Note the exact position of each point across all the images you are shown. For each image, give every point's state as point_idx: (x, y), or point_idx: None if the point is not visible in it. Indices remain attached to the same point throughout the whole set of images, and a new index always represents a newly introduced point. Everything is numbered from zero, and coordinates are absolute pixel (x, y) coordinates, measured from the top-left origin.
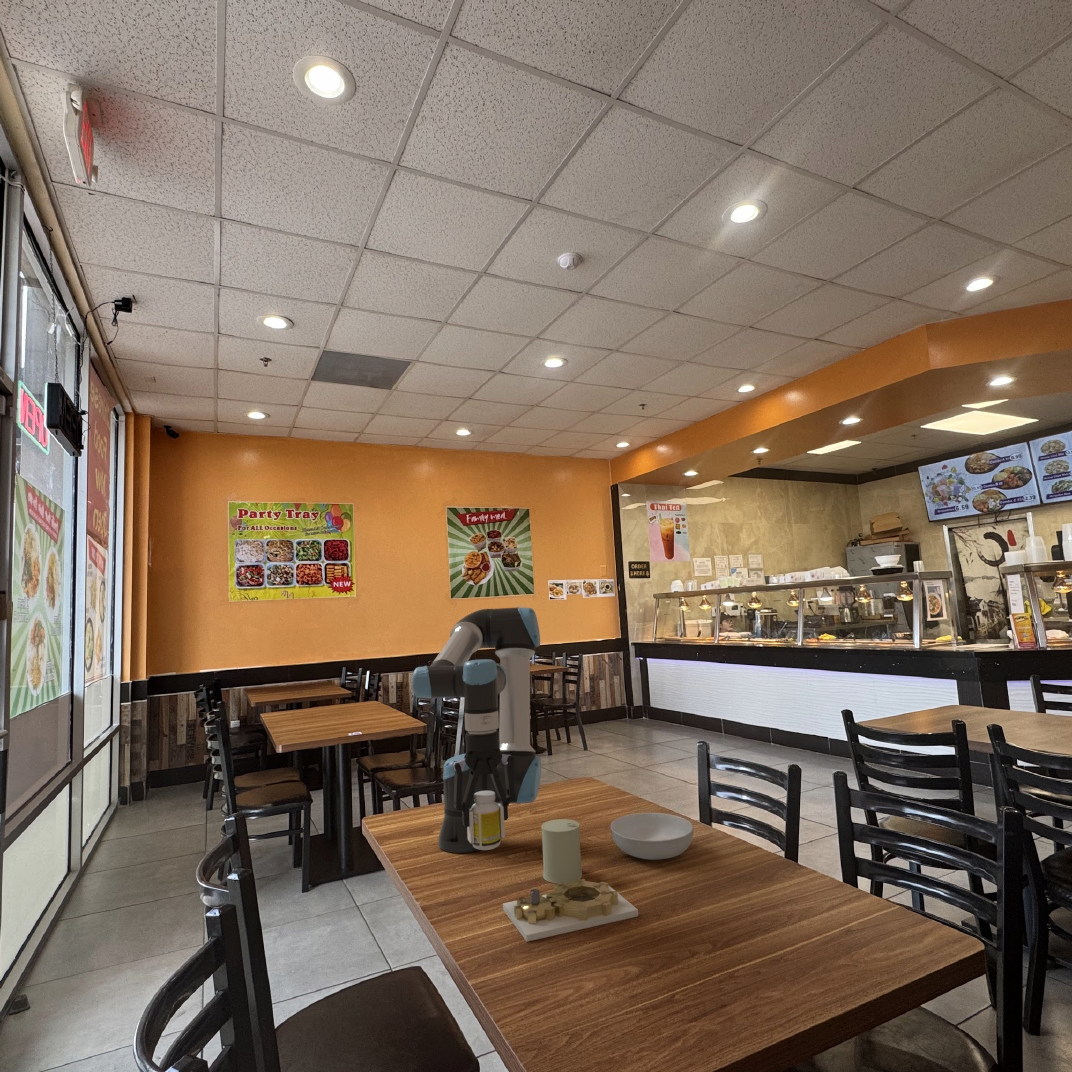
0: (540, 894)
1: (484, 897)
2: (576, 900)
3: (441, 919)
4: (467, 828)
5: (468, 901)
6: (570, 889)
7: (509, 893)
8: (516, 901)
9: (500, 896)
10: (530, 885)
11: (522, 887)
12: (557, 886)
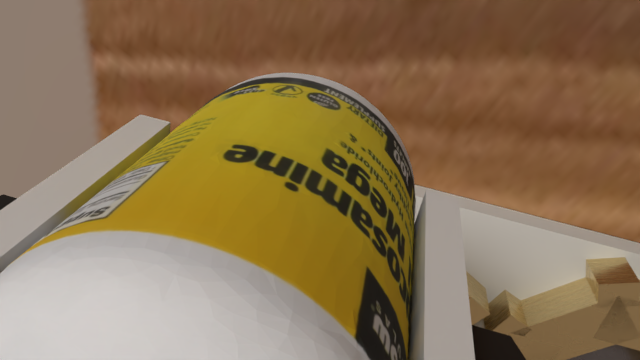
0: (480, 310)
1: (361, 13)
2: (603, 352)
3: (127, 85)
4: (82, 160)
5: (280, 2)
6: (623, 343)
7: (482, 54)
8: (418, 203)
9: (428, 54)
10: (631, 41)
11: (581, 35)
12: (597, 303)
